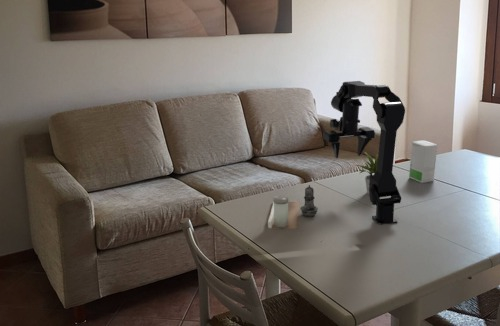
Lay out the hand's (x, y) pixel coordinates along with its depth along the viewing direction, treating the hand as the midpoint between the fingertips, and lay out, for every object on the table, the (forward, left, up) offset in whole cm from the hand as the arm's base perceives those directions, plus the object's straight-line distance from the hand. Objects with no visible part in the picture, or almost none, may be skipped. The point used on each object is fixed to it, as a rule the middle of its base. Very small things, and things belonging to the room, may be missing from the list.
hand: (347, 156), depth 201 cm
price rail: (-15, +32, -15) cm, 38 cm away
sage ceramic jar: (-25, +31, -14) cm, 42 cm away
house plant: (+2, -12, -16) cm, 20 cm away
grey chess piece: (-18, +20, -16) cm, 31 cm away
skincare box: (+12, -37, -16) cm, 42 cm away
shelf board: (-16, +28, -15) cm, 35 cm away
